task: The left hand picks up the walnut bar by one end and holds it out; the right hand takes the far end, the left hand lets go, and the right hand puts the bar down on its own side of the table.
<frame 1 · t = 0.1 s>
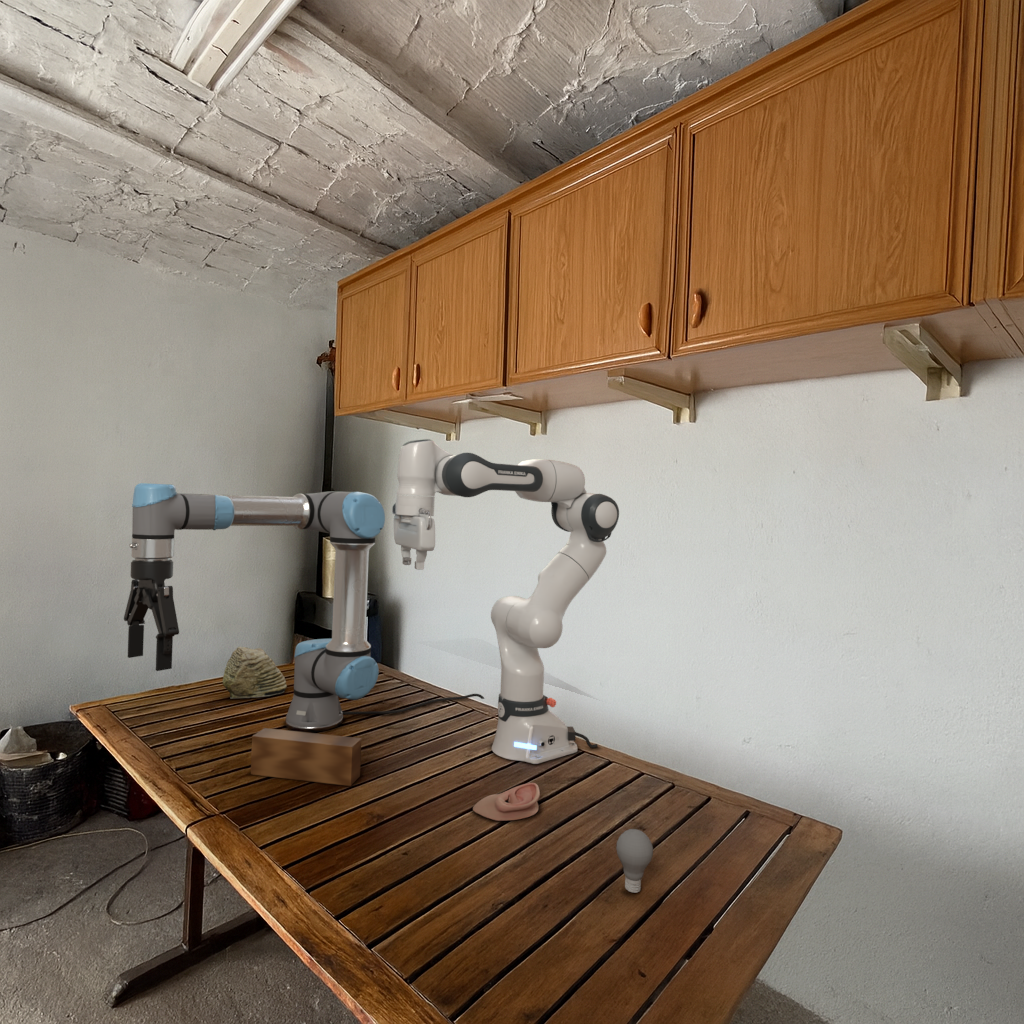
left hand: (149, 663, 129), 28 cm above the table, tool pointing down, fingers open, 13 cm apart
right hand: (412, 567, 148), 48 cm above the table, tool pointing down, fingers open, 8 cm apart
fossil: (254, 694, 198), on the table
anatomical model: (506, 809, 132), on the table
light bulb: (632, 891, 106), on the table
bar: (305, 775, 144), on the table
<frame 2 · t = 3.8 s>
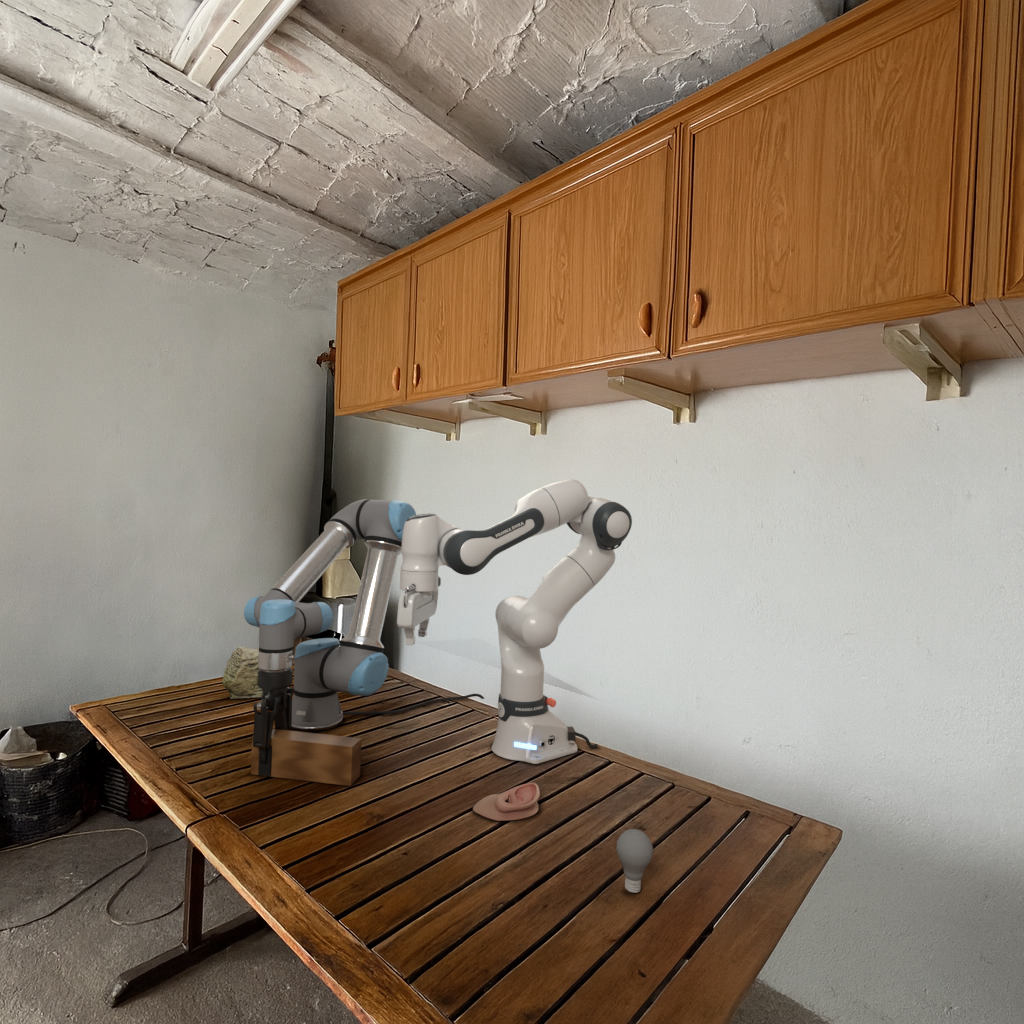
left hand: (271, 769, 145), 1 cm above the table, tool pointing down, fingers closed on bar, 5 cm apart
right hand: (416, 640, 150), 30 cm above the table, tool pointing down, fingers open, 8 cm apart
bar: (305, 775, 144), on the table, touching left hand
everything else where it was.
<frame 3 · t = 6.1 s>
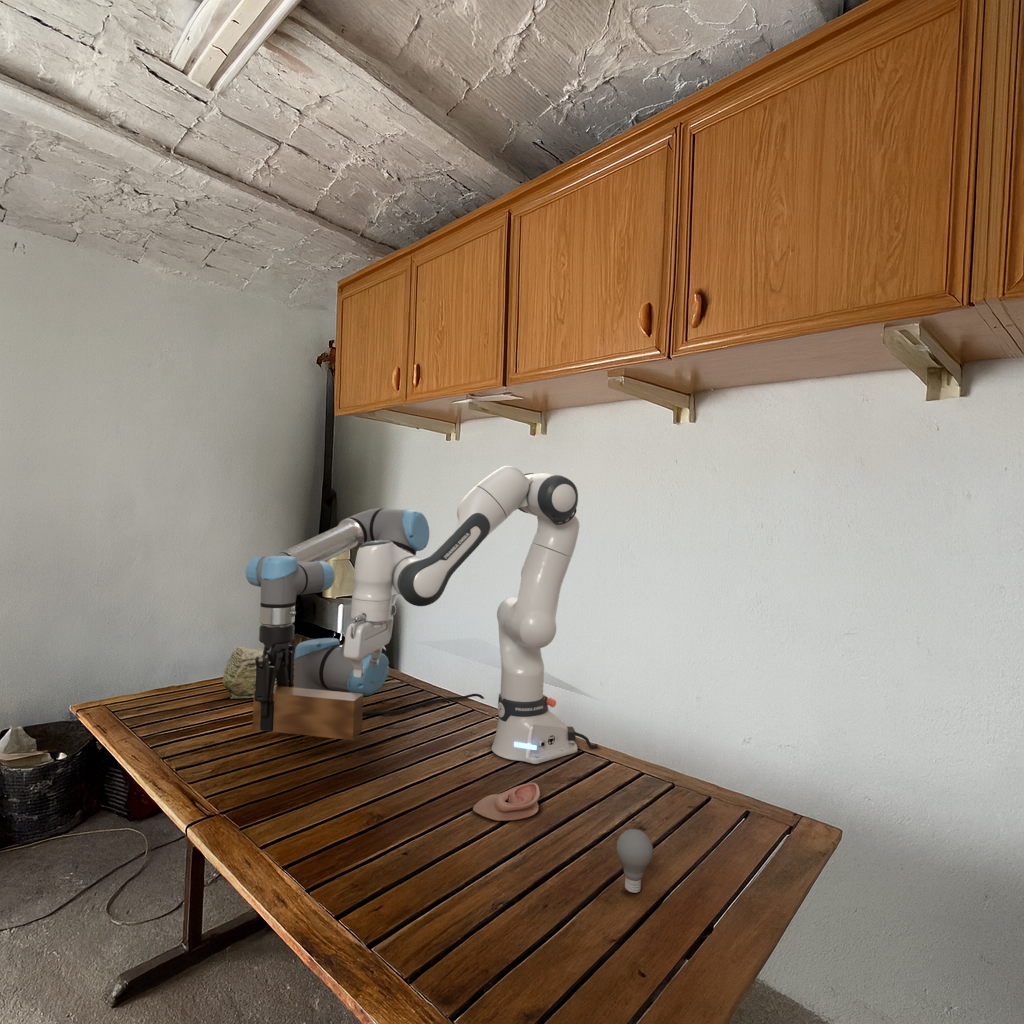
left hand: (273, 725, 145), 11 cm above the table, tool pointing down, fingers closed on bar, 5 cm apart
right hand: (366, 671, 144), 24 cm above the table, tool pointing down, fingers open, 8 cm apart
bar: (307, 730, 144), point 10 cm above the table, touching left hand
everything else where it was.
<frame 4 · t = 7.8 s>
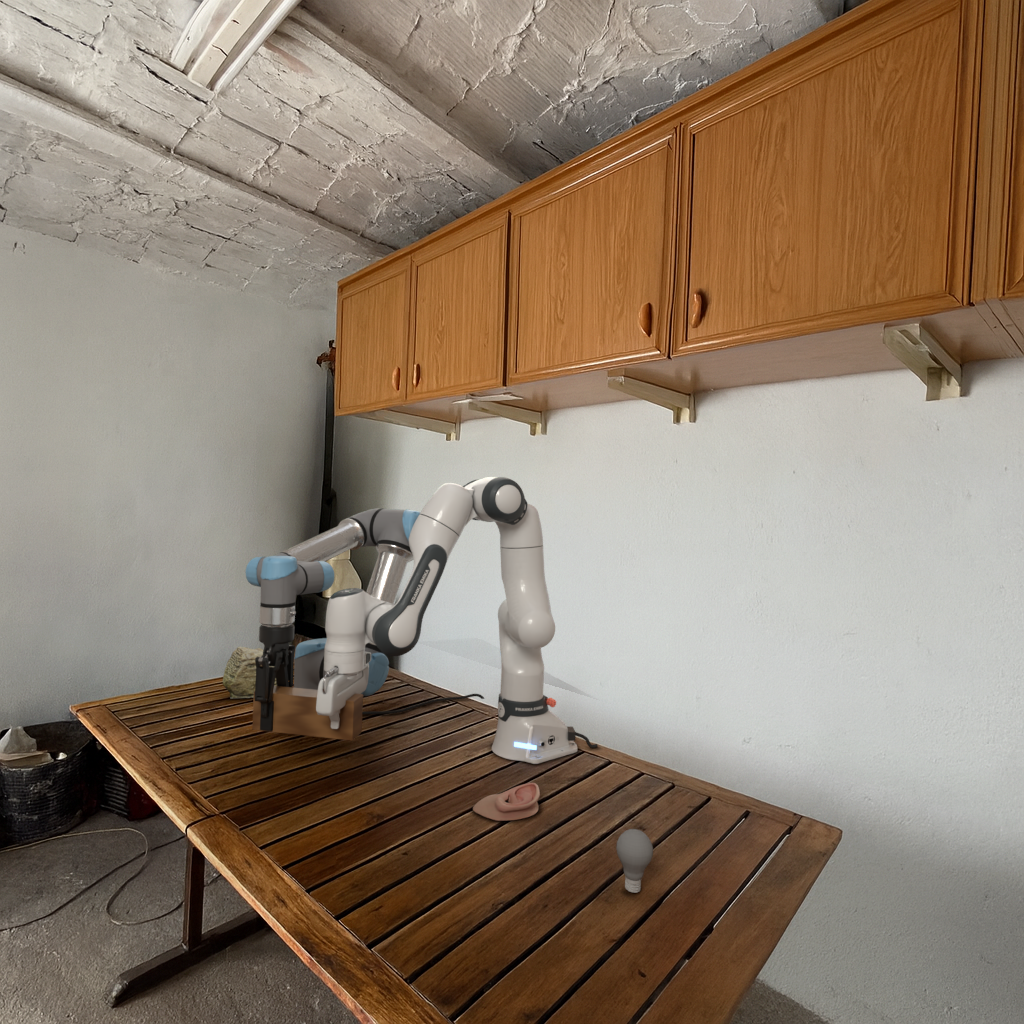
left hand: (273, 725, 145), 11 cm above the table, tool pointing down, fingers closed on bar, 5 cm apart
right hand: (342, 722, 142), 13 cm above the table, tool pointing down, fingers closed on bar, 5 cm apart
bar: (307, 731, 143), point 10 cm above the table, touching left hand, right hand
everything else where it was.
when the left hand's fingers open (11 cm above the table, at t = 8.8 s): bar stays where it is, held by the right hand.
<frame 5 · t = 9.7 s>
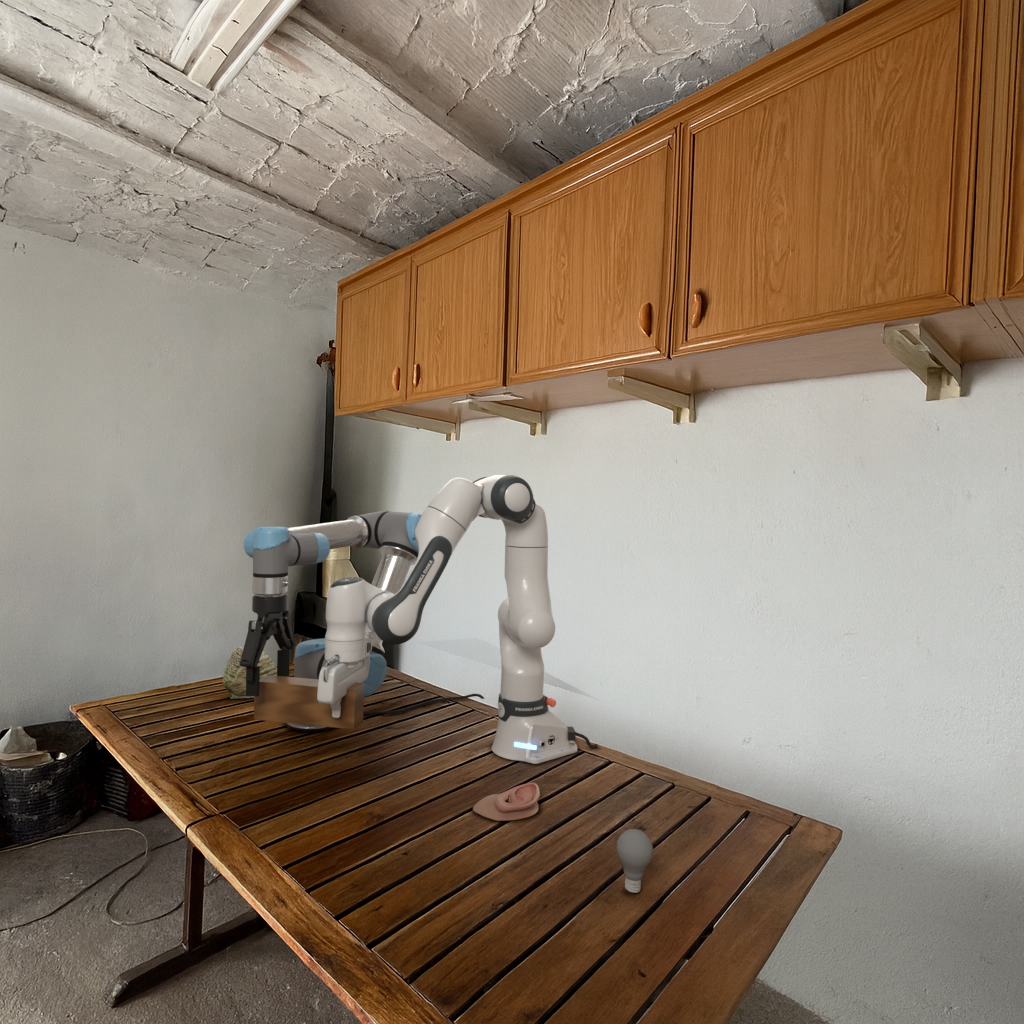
left hand: (268, 686, 145), 19 cm above the table, tool pointing down, fingers open, 13 cm apart
right hand: (343, 711, 142), 15 cm above the table, tool pointing down, fingers closed on bar, 5 cm apart
bar: (308, 720, 143), point 13 cm above the table, touching right hand
everything else where it was.
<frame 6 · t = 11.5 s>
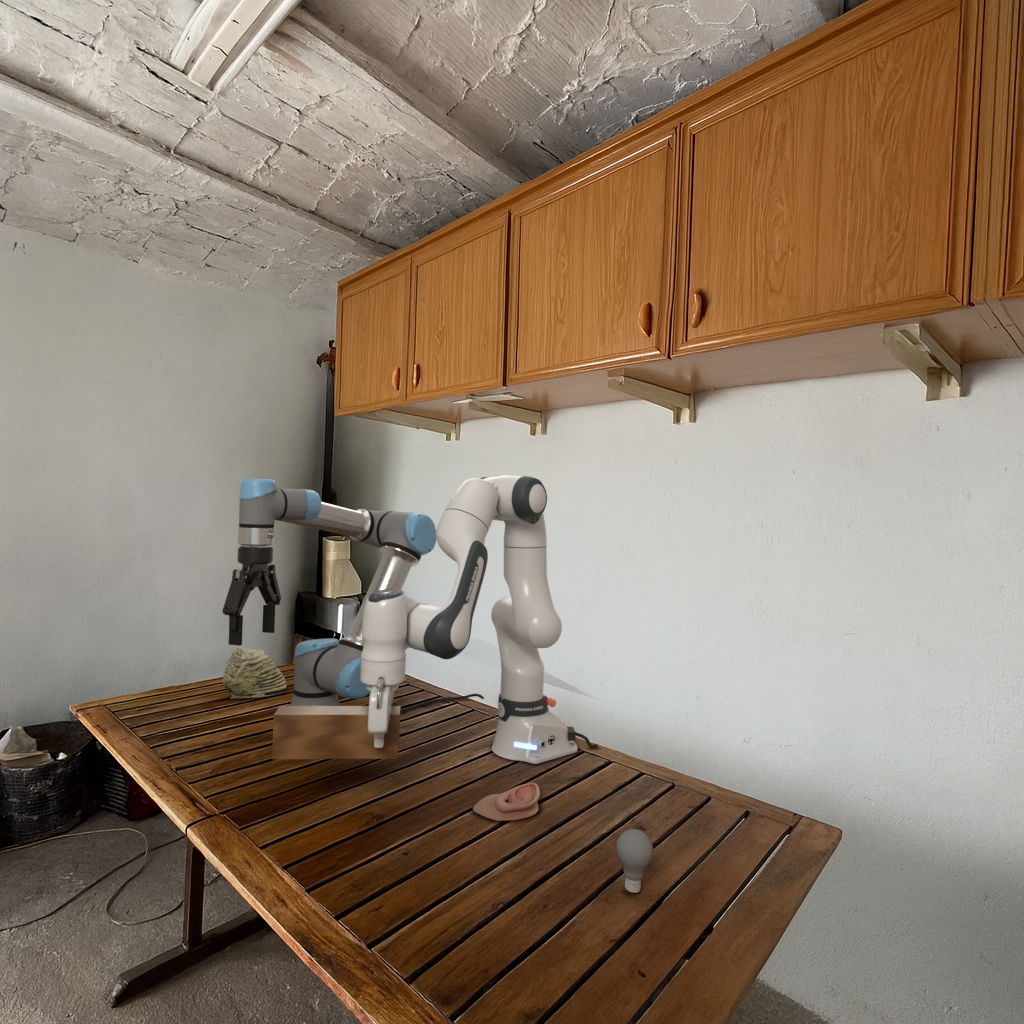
left hand: (252, 638, 145), 30 cm above the table, tool pointing down, fingers open, 13 cm apart
right hand: (380, 739, 127), 15 cm above the table, tool pointing down, fingers closed on bar, 5 cm apart
bar: (337, 753, 126), point 13 cm above the table, touching right hand
everything else where it was.
when the right hand's fingers open (4 cm above the table, at t = 13.1 s): bar stays where it is, on the table.
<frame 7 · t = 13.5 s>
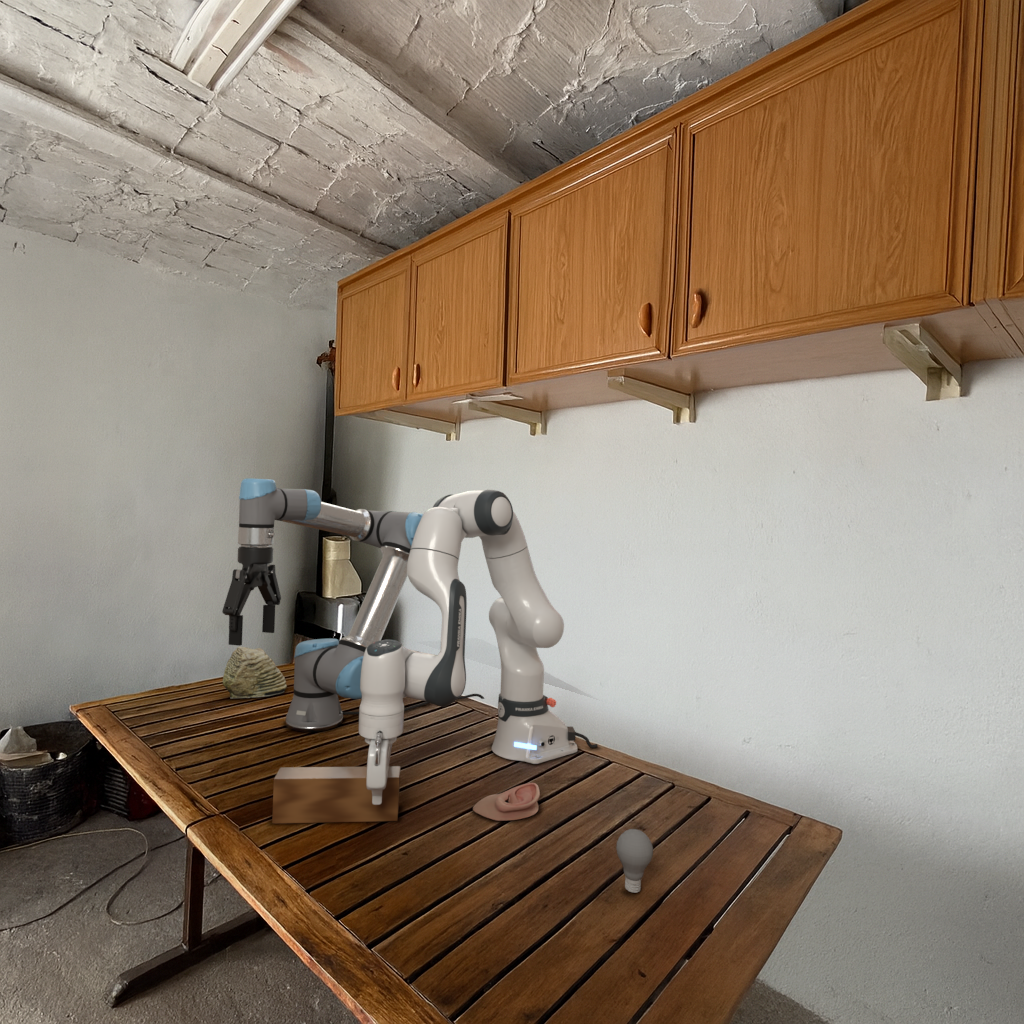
left hand: (252, 638, 145), 30 cm above the table, tool pointing down, fingers open, 13 cm apart
right hand: (378, 791, 127), 5 cm above the table, tool pointing down, fingers open, 8 cm apart
bar: (337, 815, 126), on the table
everything else where it was.
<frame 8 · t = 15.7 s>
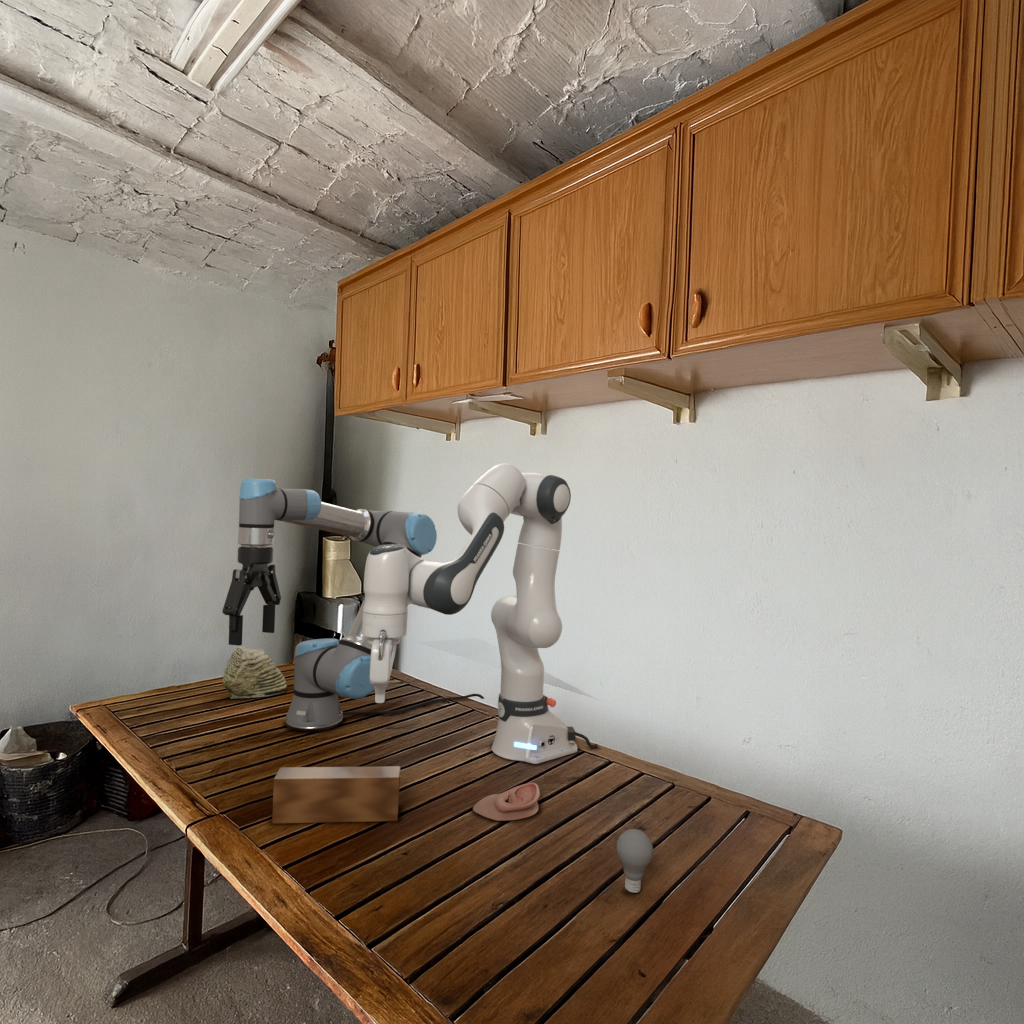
left hand: (252, 638, 145), 30 cm above the table, tool pointing down, fingers open, 13 cm apart
right hand: (381, 694, 127), 24 cm above the table, tool pointing down, fingers open, 8 cm apart
nothing on the table moved.
at the end: bar inside the target area (7.8 cm from its centre), on the table; the left hand is holding nothing; the right hand is holding nothing; bar at rest at the end (0.0 cm/s) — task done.
